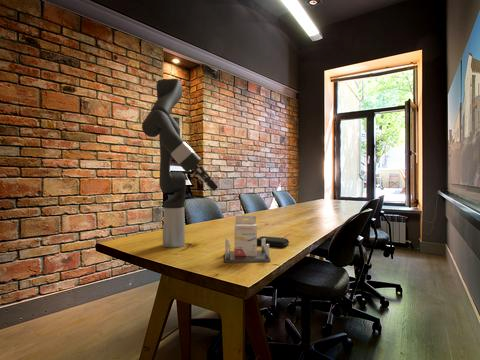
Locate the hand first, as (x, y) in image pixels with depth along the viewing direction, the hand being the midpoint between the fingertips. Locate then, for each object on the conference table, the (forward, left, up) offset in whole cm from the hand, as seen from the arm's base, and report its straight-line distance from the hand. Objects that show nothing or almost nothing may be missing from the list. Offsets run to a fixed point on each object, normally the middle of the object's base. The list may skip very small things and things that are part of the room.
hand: (214, 188), depth 109 cm
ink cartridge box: (+12, -2, -26) cm, 28 cm away
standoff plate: (+12, -3, -26) cm, 29 cm away
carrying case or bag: (+25, +17, -27) cm, 41 cm away
